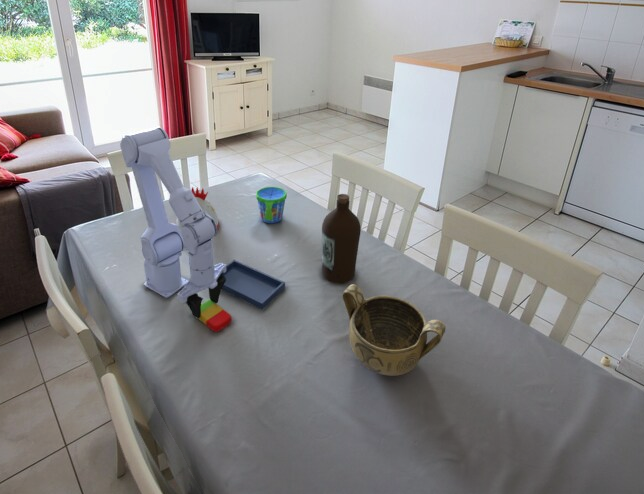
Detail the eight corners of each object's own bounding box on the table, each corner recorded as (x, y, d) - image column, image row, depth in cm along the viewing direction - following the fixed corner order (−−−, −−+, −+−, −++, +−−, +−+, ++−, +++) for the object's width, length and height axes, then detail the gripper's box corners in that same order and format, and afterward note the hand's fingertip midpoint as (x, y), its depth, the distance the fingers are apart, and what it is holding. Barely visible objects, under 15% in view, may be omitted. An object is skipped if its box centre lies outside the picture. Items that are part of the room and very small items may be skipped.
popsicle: (215, 334, 101) (215, 328, 101) (179, 304, 111) (178, 298, 110) (233, 322, 105) (233, 315, 105) (197, 294, 115) (196, 288, 114)
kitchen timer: (214, 239, 139) (211, 198, 133) (171, 238, 139) (167, 197, 133) (221, 217, 152) (219, 179, 146) (182, 216, 152) (179, 178, 146)
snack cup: (262, 206, 159) (262, 182, 155) (290, 209, 158) (290, 184, 154) (251, 228, 145) (250, 201, 141) (281, 232, 143) (281, 205, 140)
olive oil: (345, 259, 130) (350, 185, 120) (363, 280, 121) (371, 201, 111) (313, 267, 126) (316, 191, 116) (330, 289, 117) (334, 208, 107)
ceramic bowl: (446, 358, 96) (457, 305, 90) (418, 415, 83) (429, 357, 78) (358, 315, 108) (362, 266, 102) (321, 359, 95) (324, 306, 89)
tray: (209, 283, 118) (209, 277, 118) (234, 265, 126) (234, 259, 126) (262, 310, 109) (262, 303, 109) (285, 288, 117) (285, 282, 116)
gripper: (191, 286, 95) (195, 333, 100) (234, 254, 106) (236, 298, 111) (169, 274, 98) (174, 321, 103) (213, 245, 109) (216, 288, 115)
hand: (205, 308), depth 107 cm, fingers closed on popsicle, 6 cm apart
